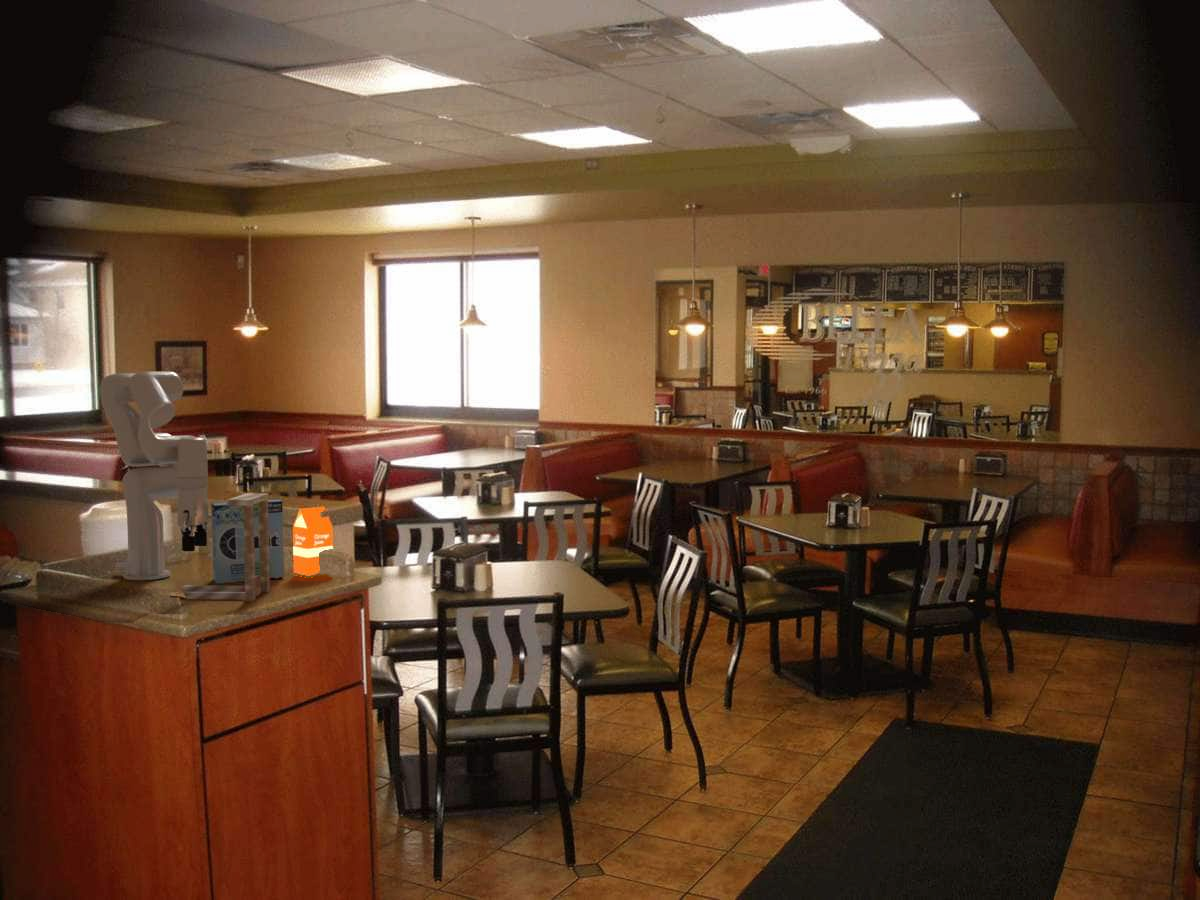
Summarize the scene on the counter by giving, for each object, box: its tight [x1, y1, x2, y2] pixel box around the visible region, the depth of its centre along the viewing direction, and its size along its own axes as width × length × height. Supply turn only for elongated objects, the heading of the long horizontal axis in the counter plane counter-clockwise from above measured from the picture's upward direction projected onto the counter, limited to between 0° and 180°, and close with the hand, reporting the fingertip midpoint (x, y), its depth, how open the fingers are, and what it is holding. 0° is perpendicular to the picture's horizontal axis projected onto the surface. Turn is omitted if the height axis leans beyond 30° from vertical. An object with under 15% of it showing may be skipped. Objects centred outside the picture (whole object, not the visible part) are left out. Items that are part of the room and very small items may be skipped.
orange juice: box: [292, 506, 334, 576], centre depth 332 cm, size 8×9×20 cm
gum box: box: [210, 498, 286, 584], centre depth 323 cm, size 20×5×23 cm, turn 119°
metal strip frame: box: [181, 492, 271, 602], centre depth 300 cm, size 23×15×27 cm, turn 88°
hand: (194, 548), depth 301 cm, fingers open, 7 cm apart
